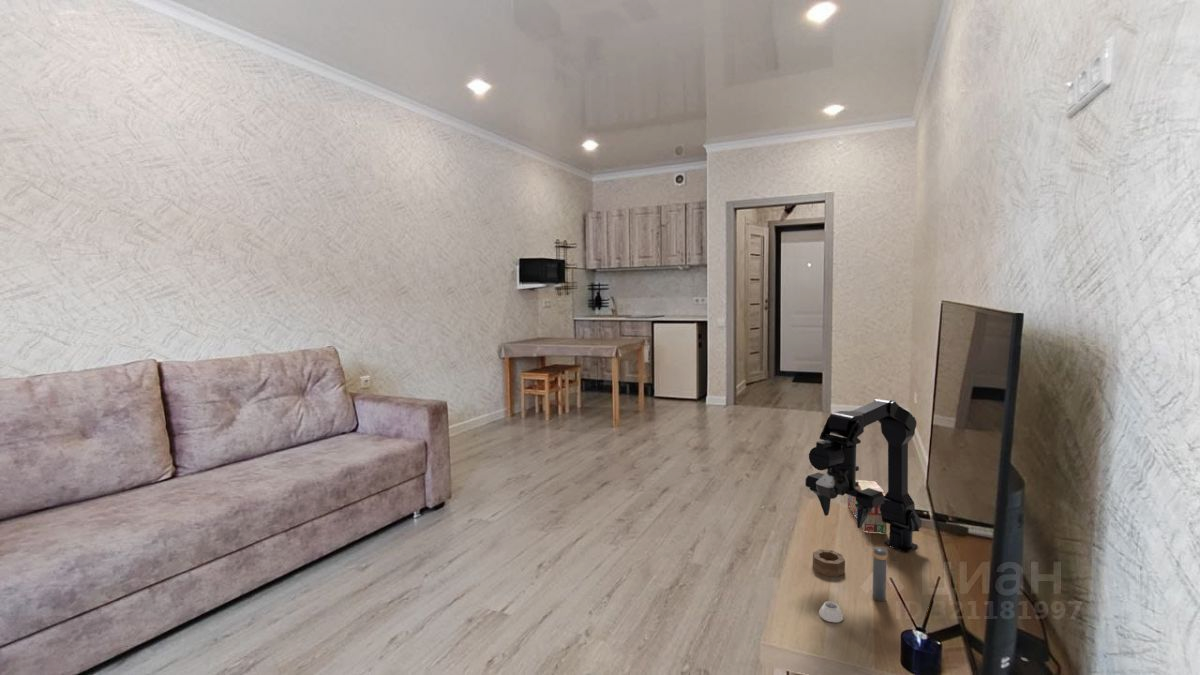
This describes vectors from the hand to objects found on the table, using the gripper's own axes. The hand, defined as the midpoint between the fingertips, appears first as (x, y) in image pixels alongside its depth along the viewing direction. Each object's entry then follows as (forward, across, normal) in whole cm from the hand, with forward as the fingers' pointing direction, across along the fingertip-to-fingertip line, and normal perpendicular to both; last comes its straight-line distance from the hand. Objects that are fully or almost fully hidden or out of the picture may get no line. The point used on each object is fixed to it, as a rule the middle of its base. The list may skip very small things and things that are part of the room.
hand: (842, 521), depth 138 cm
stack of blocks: (+15, -16, +37) cm, 43 cm away
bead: (+15, -4, 0) cm, 15 cm away
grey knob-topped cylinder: (+15, +11, -2) cm, 18 cm away
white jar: (+15, +9, -18) cm, 25 cm away
